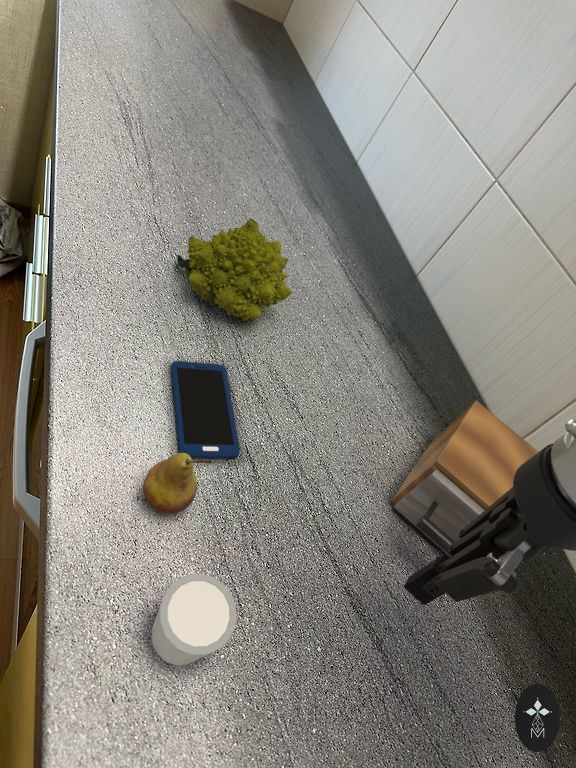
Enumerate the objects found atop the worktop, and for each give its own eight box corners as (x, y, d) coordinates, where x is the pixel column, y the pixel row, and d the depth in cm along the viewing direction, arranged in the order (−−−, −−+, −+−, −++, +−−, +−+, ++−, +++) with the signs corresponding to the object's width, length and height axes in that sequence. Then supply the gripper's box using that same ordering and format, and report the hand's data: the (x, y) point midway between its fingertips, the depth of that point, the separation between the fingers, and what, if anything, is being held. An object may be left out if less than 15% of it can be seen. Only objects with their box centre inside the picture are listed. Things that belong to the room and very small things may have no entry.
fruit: (186, 473, 65) (215, 416, 57) (192, 520, 62) (224, 468, 53) (136, 474, 63) (159, 415, 54) (140, 523, 60) (164, 469, 51)
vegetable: (149, 240, 80) (233, 182, 74) (215, 275, 94) (291, 227, 88) (174, 332, 75) (266, 278, 70) (240, 355, 89) (321, 311, 83)
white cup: (138, 605, 55) (153, 581, 50) (206, 590, 58) (226, 566, 53) (151, 682, 51) (168, 664, 46) (223, 661, 55) (246, 643, 50)
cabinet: (462, 564, 72) (519, 531, 64) (390, 501, 74) (436, 460, 66) (496, 496, 81) (549, 460, 74) (431, 441, 83) (476, 400, 75)
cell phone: (179, 458, 66) (180, 455, 65) (169, 363, 74) (171, 359, 73) (239, 459, 69) (241, 456, 68) (224, 367, 77) (225, 364, 76)
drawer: (446, 591, 68) (494, 565, 61) (378, 530, 69) (416, 498, 63) (491, 501, 79) (535, 471, 73) (431, 450, 81) (469, 416, 74)
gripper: (565, 404, 47) (413, 524, 64) (522, 503, 38) (358, 613, 55) (642, 465, 46) (467, 571, 62) (616, 583, 37) (420, 669, 54)
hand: (416, 590), depth 59 cm, fingers closed
